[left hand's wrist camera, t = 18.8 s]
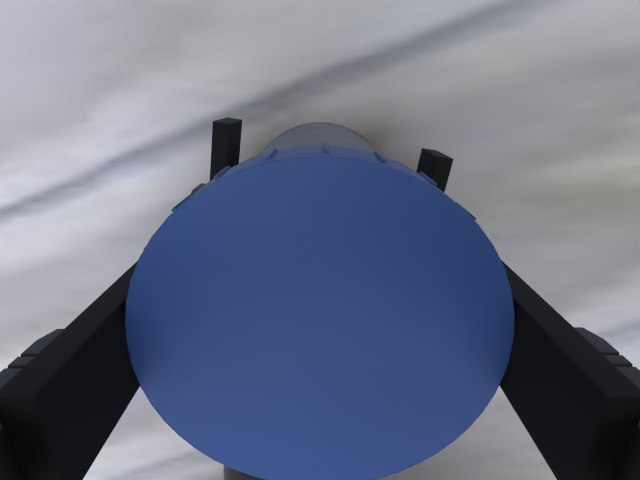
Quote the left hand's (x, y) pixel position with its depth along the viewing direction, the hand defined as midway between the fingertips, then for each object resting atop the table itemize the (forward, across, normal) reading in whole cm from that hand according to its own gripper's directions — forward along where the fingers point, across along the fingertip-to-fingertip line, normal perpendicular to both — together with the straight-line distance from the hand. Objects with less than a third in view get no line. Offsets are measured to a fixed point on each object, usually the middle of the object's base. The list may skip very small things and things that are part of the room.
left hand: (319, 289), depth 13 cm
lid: (-3, 0, 0) cm, 3 cm away
